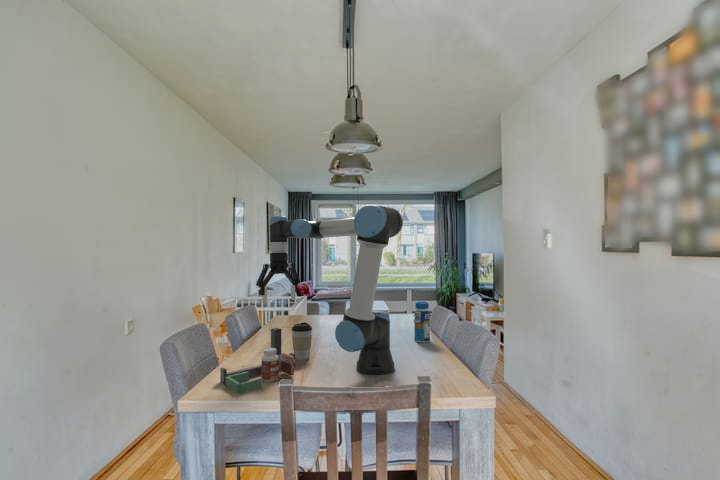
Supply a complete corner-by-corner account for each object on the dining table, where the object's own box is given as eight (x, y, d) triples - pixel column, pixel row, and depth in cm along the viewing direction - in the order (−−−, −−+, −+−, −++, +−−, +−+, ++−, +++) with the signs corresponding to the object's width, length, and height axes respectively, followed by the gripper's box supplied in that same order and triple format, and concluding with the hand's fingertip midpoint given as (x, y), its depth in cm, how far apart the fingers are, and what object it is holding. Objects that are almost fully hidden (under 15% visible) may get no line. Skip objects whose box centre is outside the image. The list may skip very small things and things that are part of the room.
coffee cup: (308, 361, 166) (308, 326, 166) (288, 360, 168) (288, 325, 168) (314, 355, 175) (314, 322, 175) (295, 354, 176) (295, 321, 177)
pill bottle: (272, 383, 139) (272, 352, 139) (257, 381, 141) (257, 350, 142) (281, 377, 145) (281, 348, 145) (267, 375, 147) (267, 346, 147)
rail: (295, 366, 159) (295, 354, 159) (223, 384, 139) (223, 369, 139) (291, 364, 161) (291, 352, 161) (220, 381, 141) (220, 368, 141)
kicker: (299, 373, 148) (299, 332, 148) (285, 377, 144) (285, 334, 144) (280, 365, 158) (280, 327, 158) (267, 369, 154) (267, 329, 154)
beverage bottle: (412, 339, 205) (412, 301, 205) (427, 338, 206) (427, 301, 206) (416, 343, 196) (416, 303, 197) (432, 342, 197) (432, 303, 198)
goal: (261, 387, 135) (261, 378, 135) (238, 393, 129) (238, 384, 129) (247, 379, 143) (247, 371, 143) (224, 385, 137) (225, 376, 137)
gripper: (299, 251, 178) (299, 298, 178) (247, 252, 162) (247, 303, 162) (308, 251, 173) (308, 299, 172) (255, 252, 156) (255, 305, 156)
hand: (279, 301), depth 167 cm, fingers open, 13 cm apart
